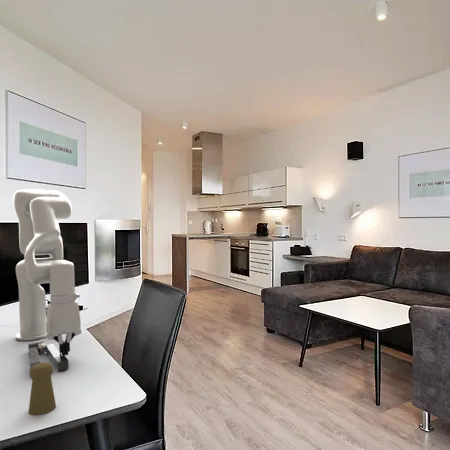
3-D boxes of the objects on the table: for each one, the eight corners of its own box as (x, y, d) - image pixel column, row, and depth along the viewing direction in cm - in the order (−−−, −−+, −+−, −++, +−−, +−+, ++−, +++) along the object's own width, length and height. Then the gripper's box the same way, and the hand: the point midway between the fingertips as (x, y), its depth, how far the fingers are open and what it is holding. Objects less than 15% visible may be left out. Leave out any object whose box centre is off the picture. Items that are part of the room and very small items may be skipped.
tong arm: (37, 352, 128) (37, 343, 128) (54, 349, 131) (54, 340, 131) (49, 373, 110) (49, 362, 110) (68, 368, 113) (68, 358, 113)
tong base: (26, 352, 129) (26, 344, 129) (43, 349, 132) (43, 341, 132) (30, 378, 108) (30, 368, 108) (51, 373, 110) (50, 364, 110)
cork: (44, 416, 86) (43, 369, 86) (22, 414, 87) (21, 368, 87) (61, 403, 92) (60, 360, 92) (40, 401, 93) (39, 359, 93)
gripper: (84, 294, 128) (86, 347, 128) (36, 300, 120) (38, 356, 120) (88, 297, 122) (90, 352, 121) (38, 303, 114) (40, 362, 113)
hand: (64, 354), depth 121 cm, fingers closed
